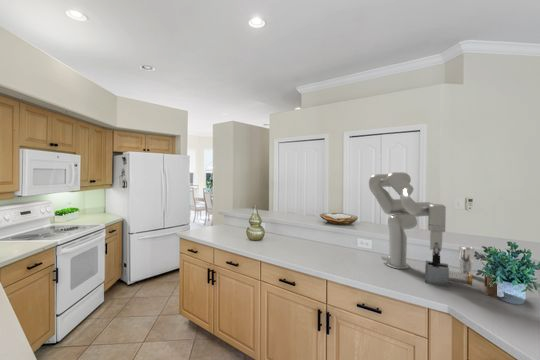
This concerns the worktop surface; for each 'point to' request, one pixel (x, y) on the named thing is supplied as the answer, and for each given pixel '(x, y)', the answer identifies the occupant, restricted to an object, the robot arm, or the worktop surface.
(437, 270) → the sleeve
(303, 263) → the worktop surface
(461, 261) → the beer glass
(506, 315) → the worktop surface
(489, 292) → the socket
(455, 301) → the worktop surface
